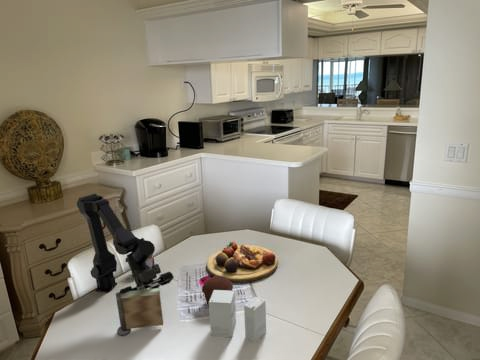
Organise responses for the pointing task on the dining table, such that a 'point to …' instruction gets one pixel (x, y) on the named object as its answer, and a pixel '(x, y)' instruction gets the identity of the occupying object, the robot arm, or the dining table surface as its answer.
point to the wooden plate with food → (242, 263)
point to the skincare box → (255, 318)
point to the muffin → (216, 286)
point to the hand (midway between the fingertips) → (155, 309)
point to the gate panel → (139, 308)
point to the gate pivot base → (123, 332)
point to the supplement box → (222, 313)
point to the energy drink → (150, 261)
